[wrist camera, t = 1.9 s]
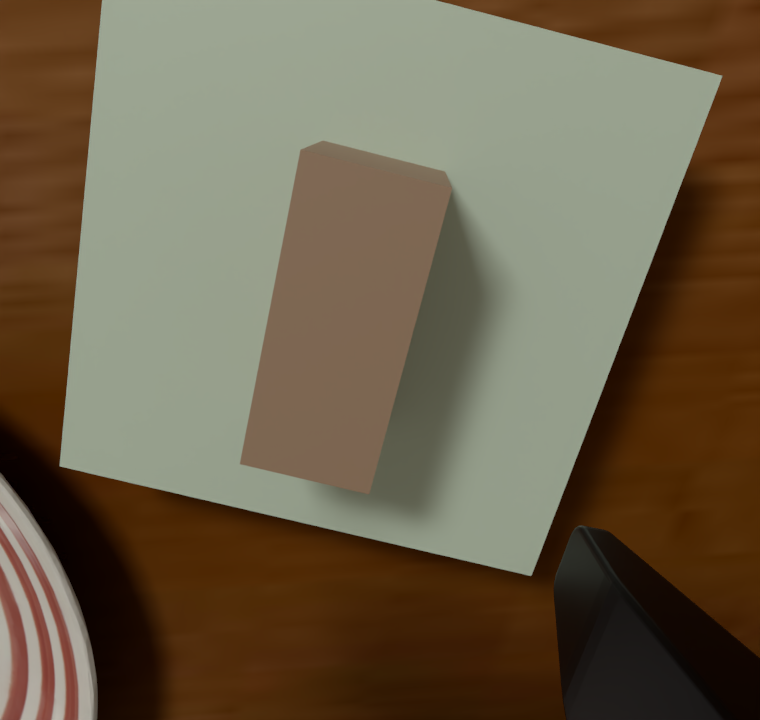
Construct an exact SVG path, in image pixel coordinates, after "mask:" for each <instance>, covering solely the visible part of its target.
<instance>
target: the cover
mask: <svg viewBox="0 0 760 720" xmlns="http://www.w3.org/2000/svg"><path fill="white" fill-rule="evenodd" d="M721 78H722V76H721V75H717V74H713V73H709V72H706V71H702V70H698V69H694V68H690V67H687V66H683V65H679V64H675V63H671V62H668V61H664V60H660V59H656V58H652V57H649V56H645V55H641V54H637V53H633V52H630V51H626V50H622V49H618V48H614V47H611V46H607V45H603V44H599V43H595V42H592V41H588V40H584V39H580V38H576V37H573V36H569V35H565V34H561V33H557V32H554V31H550V30H546V29H542V28H538V27H535V26H531V25H527V24H523V23H519V22H516V21H512V20H508V19H504V18H500V17H497V16H493V15H489V14H485V13H482V12H478V11H474V10H470V9H466V8H463V7H459V6H455V5H451V4H447V3H444V2H440V1H436V0H102V9H101V20H100V31H99V41H98V52H97V63H96V74H95V85H94V96H93V107H92V118H91V129H90V140H89V151H88V162H87V172H86V183H85V194H84V205H83V216H82V227H81V238H80V249H79V260H78V271H77V282H76V293H75V303H74V314H73V325H72V336H71V347H70V358H69V369H68V380H67V391H66V402H65V413H64V424H63V434H62V445H61V456H60V467H65V468H69V469H73V470H78V471H82V472H86V473H90V474H95V475H99V476H103V477H108V478H112V479H116V480H121V481H125V482H129V483H133V484H138V485H142V486H146V487H151V488H155V489H159V490H164V491H168V492H172V493H176V494H181V495H185V496H189V497H194V498H198V499H202V500H207V501H211V502H215V503H219V504H224V505H228V506H232V507H237V508H241V509H245V510H249V511H254V512H258V513H262V514H267V515H271V516H275V517H280V518H284V519H288V520H292V521H297V522H301V523H305V524H310V525H314V526H318V527H323V528H327V529H331V530H335V531H340V532H344V533H348V534H353V535H357V536H361V537H365V538H370V539H374V540H378V541H383V542H387V543H391V544H396V545H400V546H404V547H408V548H413V549H417V550H421V551H426V552H430V553H434V554H439V555H443V556H447V557H451V558H456V559H460V560H464V561H469V562H473V563H477V564H481V565H486V566H490V567H494V568H499V569H503V570H507V571H512V572H516V573H520V574H524V575H529V576H532V573H533V571H534V568H535V565H536V563H537V560H538V557H539V555H540V552H541V550H542V547H543V544H544V542H545V539H546V537H547V534H548V531H549V529H550V526H551V523H552V521H553V518H554V516H555V513H556V510H557V508H558V505H559V503H560V500H561V497H562V495H563V492H564V489H565V487H566V484H567V482H568V479H569V476H570V474H571V471H572V468H573V466H574V463H575V461H576V458H577V455H578V453H579V450H580V448H581V445H582V442H583V440H584V437H585V434H586V432H587V429H588V427H589V424H590V421H591V419H592V416H593V414H594V411H595V408H596V406H597V403H598V400H599V398H600V395H601V393H602V390H603V387H604V385H605V382H606V379H607V377H608V374H609V372H610V369H611V366H612V364H613V361H614V359H615V356H616V353H617V351H618V348H619V345H620V343H621V340H622V338H623V335H624V332H625V330H626V327H627V325H628V322H629V319H630V317H631V314H632V311H633V309H634V306H635V304H636V301H637V298H638V296H639V293H640V290H641V288H642V285H643V283H644V280H645V277H646V275H647V272H648V270H649V267H650V264H651V262H652V259H653V256H654V254H655V251H656V249H657V246H658V243H659V241H660V238H661V236H662V233H663V230H664V228H665V225H666V222H667V220H668V217H669V215H670V212H671V209H672V207H673V204H674V201H675V199H676V196H677V194H678V191H679V188H680V186H681V183H682V181H683V178H684V175H685V173H686V170H687V167H688V165H689V162H690V160H691V157H692V154H693V152H694V149H695V146H696V144H697V141H698V139H699V136H700V133H701V131H702V128H703V126H704V123H705V120H706V118H707V115H708V112H709V110H710V107H711V105H712V102H713V99H714V97H715V94H716V92H717V89H718V86H719V84H720V81H721Z"/></svg>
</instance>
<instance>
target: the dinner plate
mask: <svg viewBox="0 0 760 720" xmlns="http://www.w3.org/2000/svg"><path fill="white" fill-rule="evenodd" d="M97 711H98V691H97V676H96V669H95V663H94V658H93V652H92V647H91V643H90V639H89V635H88V631H87V626H86V623H85V620H84V617H83V614H82V611H81V608H80V605H79V602H78V600H77V597H76V595H75V592H74V590H73V588H72V585H71V583H70V581H69V579H68V577H67V575H66V572H65V570H64V568H63V566H62V564H61V562H60V560H59V558H58V556H57V554H56V552H55V550H54V548H53V547H52V545H51V543H50V542H49V540H48V539H47V537H46V536H45V534H44V532H43V531H42V529H41V528H40V526H39V525H38V523H37V521H36V520H35V518H34V517H33V515H32V514H31V512H30V510H29V509H28V507H27V506H26V505H25V503H24V502H23V501H22V499H21V498H20V497H19V496H18V494H17V493H16V492H15V490H14V489H13V488H12V487H11V485H10V484H9V483H8V482H7V480H6V479H5V478H4V476H3V475H2V474H1V473H0V720H97Z"/></svg>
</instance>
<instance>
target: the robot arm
mask: <svg viewBox="0 0 760 720" xmlns="http://www.w3.org/2000/svg"><path fill="white" fill-rule="evenodd" d="M554 602H555V614H556V627H557V639H558V651H559V663H560V675H561V686H562V695H563V703H564V709H565V715H566V720H760V658H759V657H758V656H756V655H755V654H754V653H753V652H752V651H751V650H749V649H748V648H747V647H746V646H745V645H743V644H742V643H741V642H740V641H739V640H737V639H736V638H735V637H734V636H733V635H731V634H730V633H729V632H728V631H727V630H726V629H724V628H723V627H722V626H721V625H720V624H718V623H717V622H716V621H715V620H714V619H712V618H711V617H710V616H709V615H708V614H707V613H705V612H704V611H703V610H702V609H701V608H699V607H698V606H697V605H696V604H695V603H693V602H692V601H691V600H690V599H689V598H687V597H686V596H685V595H684V594H683V593H682V592H680V591H679V590H678V589H677V588H676V587H674V586H673V585H672V584H671V583H670V582H668V581H667V580H666V579H665V578H664V577H663V576H661V575H660V574H659V573H658V572H657V571H655V570H654V569H653V568H652V567H651V566H649V565H648V564H647V563H646V562H645V561H644V560H642V559H641V558H640V557H639V556H638V555H636V554H635V553H634V552H633V551H632V550H630V549H629V548H628V547H627V546H626V545H624V544H623V543H622V542H621V541H620V540H619V539H617V538H616V537H615V536H614V535H613V534H611V533H610V532H609V531H606V530H602V529H597V528H592V527H587V526H578V527H577V528H575V529H574V531H573V532H572V534H571V536H570V539H569V542H568V544H567V547H566V550H565V552H564V555H563V558H562V560H561V563H560V566H559V568H558V571H557V574H556V577H555V582H554Z"/></svg>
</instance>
